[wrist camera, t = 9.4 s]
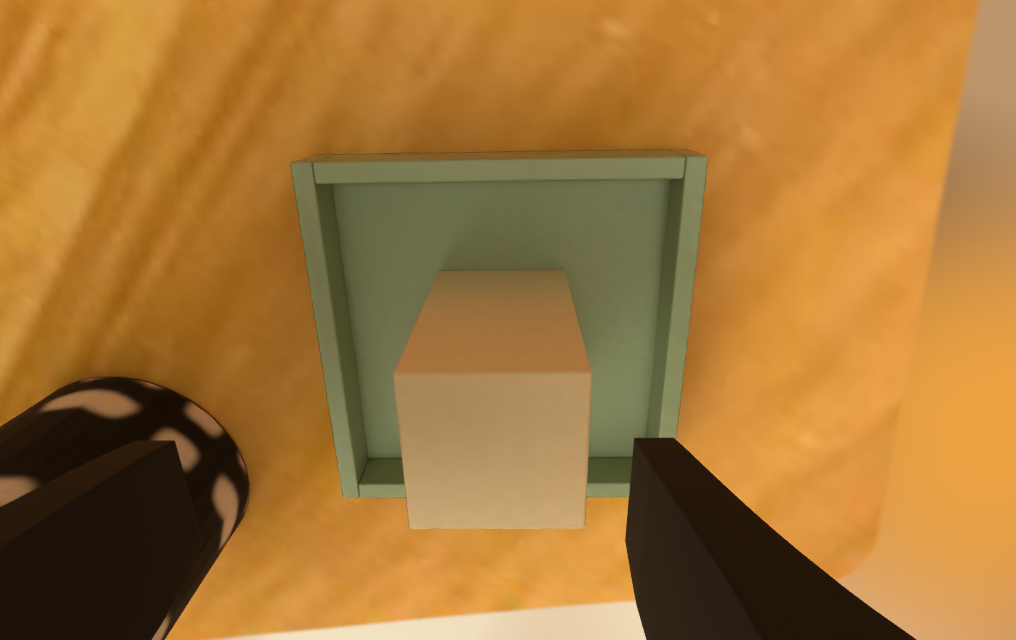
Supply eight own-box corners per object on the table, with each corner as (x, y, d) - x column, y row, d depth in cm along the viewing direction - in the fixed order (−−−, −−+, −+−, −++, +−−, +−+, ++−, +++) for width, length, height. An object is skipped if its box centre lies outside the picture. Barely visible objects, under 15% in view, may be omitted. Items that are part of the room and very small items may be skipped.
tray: (357, 463, 21) (342, 499, 19) (314, 154, 17) (289, 162, 15) (656, 462, 21) (670, 497, 19) (687, 148, 17) (709, 155, 15)
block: (445, 382, 19) (408, 530, 13) (437, 270, 18) (392, 372, 11) (562, 381, 19) (585, 530, 13) (564, 268, 18) (592, 371, 11)
